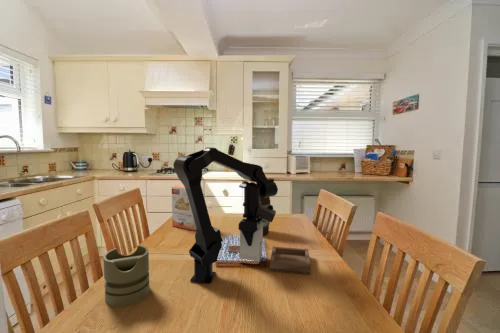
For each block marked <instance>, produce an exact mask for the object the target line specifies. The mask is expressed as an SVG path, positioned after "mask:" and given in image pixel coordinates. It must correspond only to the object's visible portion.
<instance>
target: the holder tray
mask: <svg viewBox="0 0 500 333" xmlns="http://www.w3.org/2000/svg"><path fill="white" fill-rule="evenodd" d="M310 257H311V256H310V252H309V248H308V249H307V248H298V247H297V248H295V247H286V246H285V247H284V246H272V249H271V253H270V259H269V272H277V273H286V274H298V275H300V274H301V275H311V274H312V272H311V270H312V269H311V268H312V264H311V259H310Z"/></svg>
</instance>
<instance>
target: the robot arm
mask: <svg viewBox="0 0 500 333" xmlns="http://www.w3.org/2000/svg"><path fill="white" fill-rule="evenodd" d="M212 163H214V164H216V165H218V166H221V167H224V168H226V169H229V170H231V171H234V172H235V173H236V174H237V176H239V177H241V179H243V181H242V183H240V184H239V185H238V187H239V188H241V189H244V190H243V196H244V197H243V203H242V207H243V214H242V219H241V220H239V222H238V227H237V228H238V231H240V230H241V231H242V233H243V235H244V237H245V240H246V242H247V244H248V246H251V245H252V240H253V235H254V232H256V231H257V230H258V223H259V222H260V221H261V220H262V218H263V219H266V220H268V221H269V222H270V223H273V221H274V220H275V216H276V213H277V211H276V209H274V205H272V204H271V203H270V204H269V205H268V206H267V207H266V206H265V207H264V206H262V205H261V204H262V203H261V201H260V197H261V198H265V197H270V198H271V197H274V196H276V195H277V194H278V190H279V189H278V186H277V184H276V182H275V179H274V178H270V177H269V178H267V175H266V174H265V173H264V170H263V166H261V165H258V164H256V163H255V164H254V163H251V162H250V163H249V162H245V161H243V160H240V159H237V158H235V157H233V156H232V155H229V154H227V153H225V152H223V151H221V150H219V149H218V148H216V147H205V148H203V149H200V150H199V151H195V152H193V153H190V154H188V155H179V156H178V157H176V159H175V160H174V162H173V163H172V164H173V170H174V172H175V174H176V176H177V178H178V179H179V181H180V182H181V183H182V185H184V186H185V189H186V192H187V196H188V200H189V203H190V207H191V210H192V214H193V217H194V221H195V224H196V228H197V229H196V230H195V235H194V239H195V242H194V243H193V245H192V246H191V247H190V249H189V250H188V254H189V255H190V257H191V258H193V272H194V273H193V276H192V277H191V278H190V280H189V282H191V283H198V284H207V285H210V284H211V283H212V282H213V280H214V278H215V276H216V274H217V272H216V271H213V266H214V265H213V264H214V263H217V262H218V258H219V255H220V252H221V249H222V248H223V243H222V242H224V240H223V239H222V238H223V237H222V235H221V234H222V233H221V230H220V229H219V228H216V227H214V226H213V225H212V221H211V219H210V215H209V210H208V208H207V207H208V206H207V203H206V200H205V195H204V192H203V188H202V184H201V182H202V178H203V169H206V168H208V167H209V165H211V164H212ZM249 181H250V182H249ZM256 182H257V184H256ZM260 217H261V218H260Z"/></svg>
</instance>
